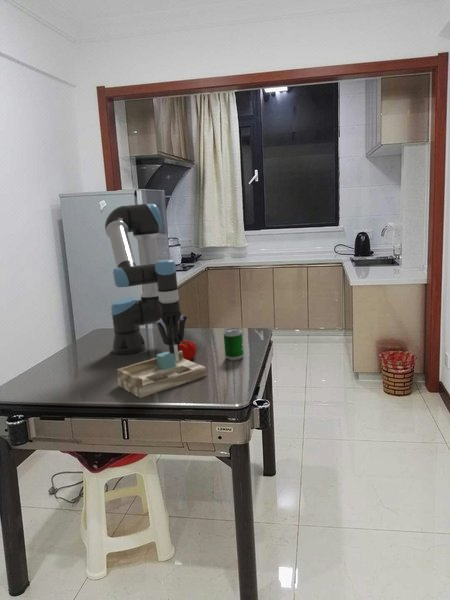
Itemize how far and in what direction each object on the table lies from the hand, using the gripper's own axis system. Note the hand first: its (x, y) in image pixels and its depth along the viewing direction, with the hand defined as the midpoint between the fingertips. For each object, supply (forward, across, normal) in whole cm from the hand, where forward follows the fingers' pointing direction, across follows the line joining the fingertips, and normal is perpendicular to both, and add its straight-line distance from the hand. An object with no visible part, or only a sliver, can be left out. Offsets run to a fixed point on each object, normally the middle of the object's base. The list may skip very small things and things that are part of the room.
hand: (175, 360), depth 197 cm
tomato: (+5, -11, -11) cm, 17 cm away
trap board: (+5, +8, +4) cm, 10 cm away
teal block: (+2, +4, 0) cm, 4 cm away
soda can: (+5, -26, +3) cm, 26 cm away
